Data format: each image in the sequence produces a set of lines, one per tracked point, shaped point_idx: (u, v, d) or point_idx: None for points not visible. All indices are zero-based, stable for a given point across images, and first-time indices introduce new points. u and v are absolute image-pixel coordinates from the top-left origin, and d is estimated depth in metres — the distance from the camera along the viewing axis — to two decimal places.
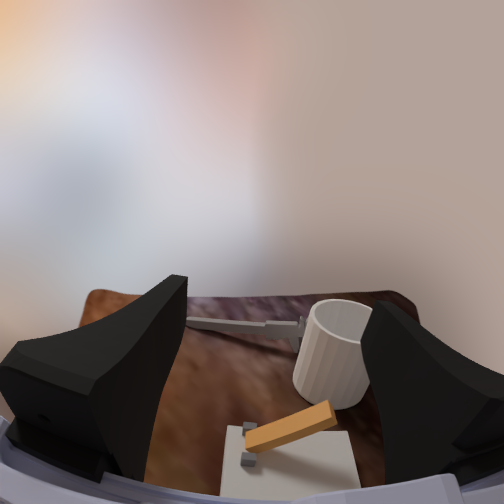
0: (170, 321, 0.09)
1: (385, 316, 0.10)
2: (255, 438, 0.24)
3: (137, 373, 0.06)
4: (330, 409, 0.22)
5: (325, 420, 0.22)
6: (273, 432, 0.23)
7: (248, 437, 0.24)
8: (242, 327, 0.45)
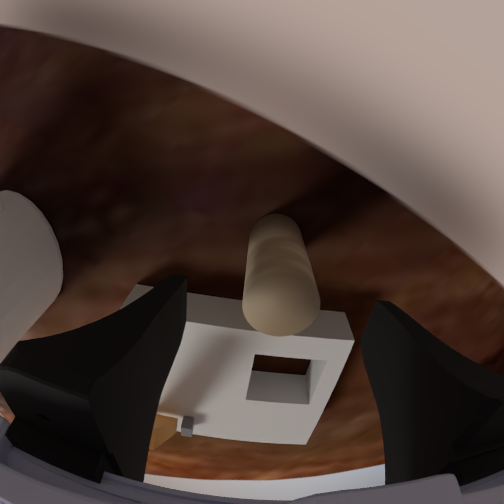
0: (170, 321, 0.09)
1: (385, 316, 0.10)
2: None
3: (137, 373, 0.06)
4: None
5: (156, 446, 0.14)
6: None
7: None
8: None
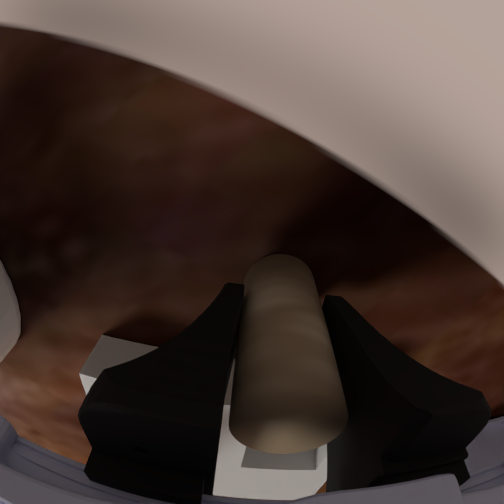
0: (236, 331, 0.09)
1: (332, 311, 0.10)
2: None
3: None
4: None
5: None
6: None
7: None
8: None
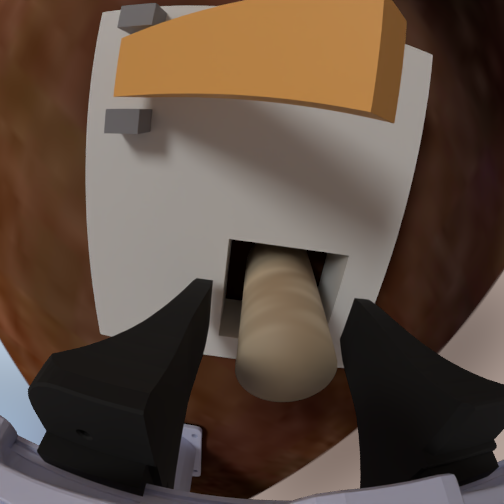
0: (199, 326, 0.09)
1: (362, 314, 0.10)
2: (130, 69, 0.07)
3: (175, 381, 0.06)
4: (383, 52, 0.03)
5: (337, 106, 0.04)
6: (163, 63, 0.06)
7: (122, 58, 0.08)
8: None
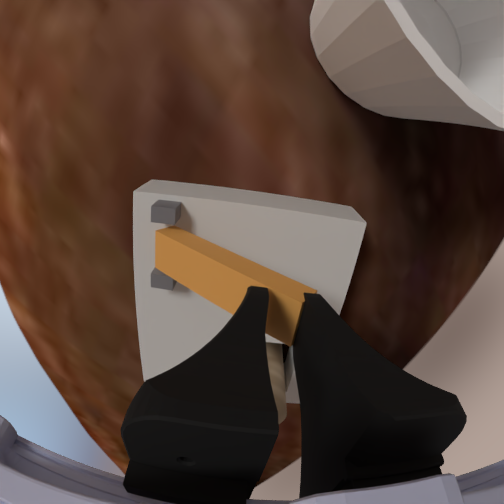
0: None
1: (308, 309, 0.10)
2: (167, 260, 0.15)
3: None
4: (298, 324, 0.11)
5: (279, 338, 0.12)
6: (193, 275, 0.14)
7: (159, 246, 0.15)
8: None
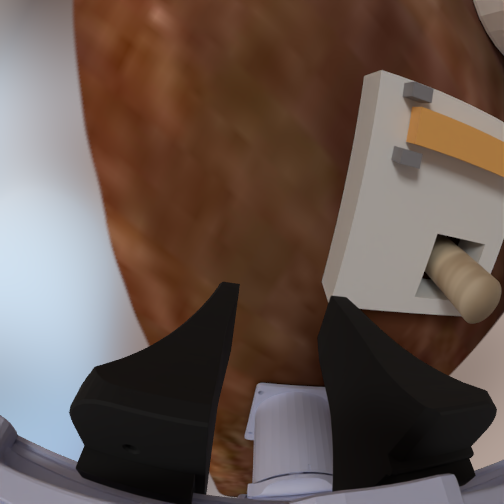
0: (230, 330, 0.09)
1: (337, 312, 0.10)
2: (434, 134, 0.13)
3: (217, 388, 0.06)
4: None
5: None
6: (460, 144, 0.13)
7: (424, 122, 0.13)
8: None
